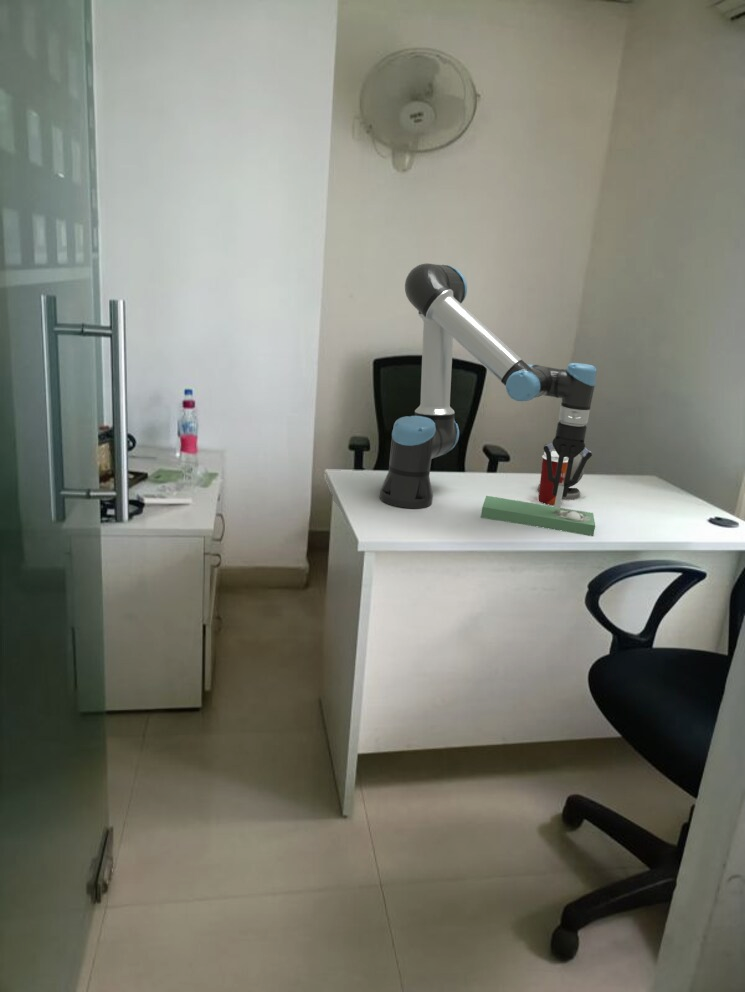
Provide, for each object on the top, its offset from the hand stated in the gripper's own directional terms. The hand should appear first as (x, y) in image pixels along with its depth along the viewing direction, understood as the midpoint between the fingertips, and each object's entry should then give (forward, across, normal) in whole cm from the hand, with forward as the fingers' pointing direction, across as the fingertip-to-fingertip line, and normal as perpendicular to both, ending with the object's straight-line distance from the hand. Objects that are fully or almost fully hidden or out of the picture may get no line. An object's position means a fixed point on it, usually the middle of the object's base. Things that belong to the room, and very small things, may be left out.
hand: (557, 507), depth 194 cm
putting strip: (+5, -5, 0) cm, 7 cm away
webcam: (+5, +1, +30) cm, 31 cm away
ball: (+3, +5, 0) cm, 5 cm away
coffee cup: (+5, -2, +20) cm, 20 cm away
